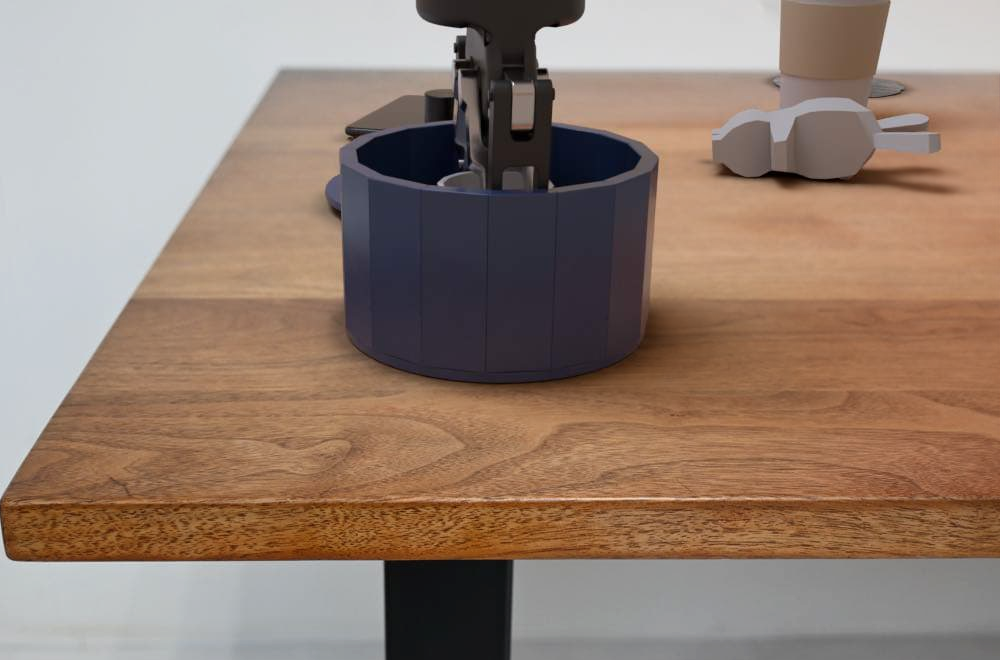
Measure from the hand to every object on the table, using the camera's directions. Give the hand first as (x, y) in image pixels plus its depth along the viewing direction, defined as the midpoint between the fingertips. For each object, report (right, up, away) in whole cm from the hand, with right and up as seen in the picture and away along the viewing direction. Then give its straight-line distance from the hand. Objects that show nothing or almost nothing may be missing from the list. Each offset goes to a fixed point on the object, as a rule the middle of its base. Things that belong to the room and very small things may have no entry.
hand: (495, 272), depth 61 cm
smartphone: (-5, +15, +43) cm, 46 cm away
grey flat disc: (+35, +22, +61) cm, 73 cm away
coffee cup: (+29, +16, +45) cm, 56 cm away
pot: (0, -2, +1) cm, 3 cm away
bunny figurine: (+24, +9, +29) cm, 38 cm away
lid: (-3, +7, +21) cm, 22 cm away
